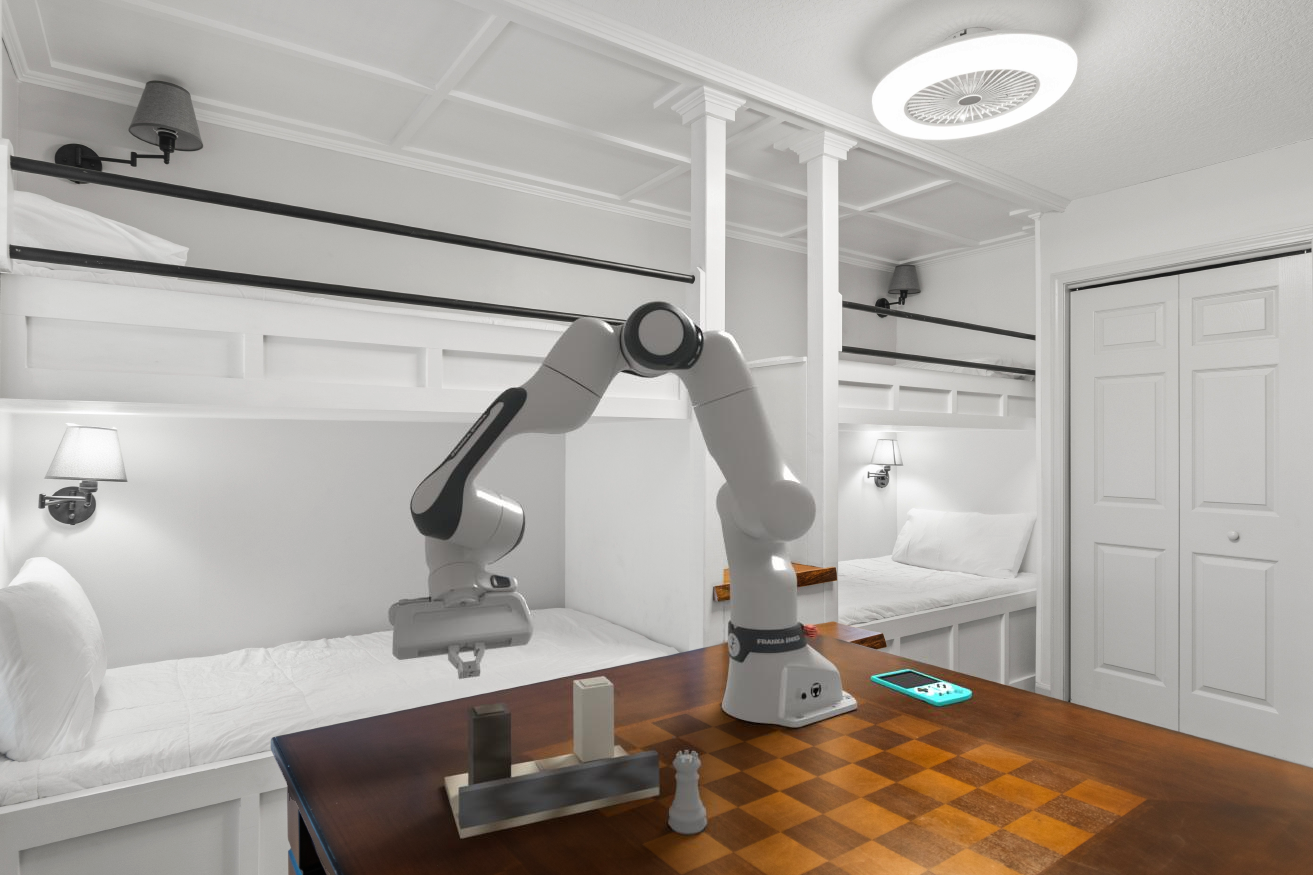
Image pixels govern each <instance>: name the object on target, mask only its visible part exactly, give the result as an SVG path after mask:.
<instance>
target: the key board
mask: <svg viewBox="0 0 1313 875" xmlns="http://www.w3.org/2000/svg"><path fill="white" fill-rule="evenodd" d="M444 788H445V791H446V794H447V798H448V800H449V801H448V802H449V805H450V807H451V810H452V814H453V817H454V821H455V824H456V827H457V831H458V835H459V838H460V839H465V838H470V837H475V836H479V835H482V834H483V835H484V834H487V833H493V832H497V831H501V830H507V829H511V828H514V827H515V828H516V827H520V826H524V825H529V824H533V823H537V822H542V821H547V820H551V819H555V818H560V817H564V816H565V817H566V816H570V815H574V814H578V813H583V812H587V811H588V812H589V811H591V810H597V809H601V808H605V807H610V806H615V805H619V804H624V803H629V802H634V801H638V800H642V799H647V798H652V797H657V796H660V754H659V752H657V750H655V749H652V750H647V751H641V752H637V753H631V754H629V753H628V752H627V751H626V750H625V749H624V748H623V747H622V746H621V744H617V745H614V757H609V758H604V759H599V760H594V761H588V762H583V763H582V761H581V760H580V759H579V757H578V756H577V755H576V753H575V752H574V753H570V754H569V753H568V754H564V755H558V756H554V757H552V756H551V757H548V758H543V759H542V758H541V759H538V760H537V759H536V760H531V761H526V762H520V763H515V764H511V777H510V778H505V779H500V780H495V781H489V782H484V783H479V784H474V785H468V772H466V773H460V774H456V775H455V774H454V775H450V776H444Z"/></svg>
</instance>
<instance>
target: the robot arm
mask: <svg viewBox="0 0 1313 875" xmlns="http://www.w3.org/2000/svg"><path fill="white" fill-rule="evenodd" d="M620 373H624V374H628V375H632V376H636V377H639V378H643V379H644V378H646V379H647V378H648V379H651V378H652V379H653V378H658V377H661V376H663V375H666V374H668V373H672V374H674V375H675V376H677V377H678V378H679V379H680V380H681V382H682V383H683V385H684V386H685V389H687V393H688V394H689V395H688V397H689V400H690V401H691V405H692V407H693V408H692V409H693V411H694V414H695V417H696V420H697V423H698V425H699V428H700V431H701V434H702V438H703V440H704V443H705V446H706V449H707V451H708V453H709V455H710V456H711V457H712V458H713V459H714V461H715V463H716V465H717V467H718V468H719V470H720V472H721V474H722V476H723V477H724V479H725V482H724V483H723V484H722V485H721V486H720V488H719V490H718V492H717V495H716V499H715V504H716V505H715V506H716V510H717V513H718V515H719V518H720V523H721V529H722V530H721V531H722V538H723V544H724V550H725V554H726V559H727V566H728V574H729V597H730V598H729V600H730V601H729V602H730V603H729V604H730V608H729V609H730V611H729V613H730V620H729V621H727V622H728V623H727V648H728V650H727V651H728V656H729V664H728V673H727V682H726V686H725V691H724V696H723V700H722V704H721V708H722V710H723V711H724V712H725V713H726V714H728V715H729V716H732V717H733V718H737V719H739V720H743V721H746V722H751V723H760V724H773V725H780V726H783V727H789V728H801V727H803V726H807V725H810V724H813V723H815V722H819V721H823V720H825V719H828V718H831V717H834V716H837V715H842V714H843V713H844V714H845V713H847V712H850V711H853V710H856V709H858V702H857V700H856V699H855V697H854V696H852V694H850V693H848V692H847V691H845V690H843V685H842V680H841V679H842V678H841V676H840V672H839V670H838V669H837V667H836V665H834V663H832V662H831V661H830V660H829V659H828V658H827V657H825V656H823V655H822V654H821V653H820V652H818V651H817V650H815V649H814V648H813V647H812V646H810V645H809V644H808V641H807V639H806V637H809V638H811V639H813V640H815V639H817V638H818V636H819V635H820V628H818V627H817V626H815V625H812V624H810V623H809V624H803V623H802V622H800V621H798V588H797V587H798V578H797V574H796V571H795V569H794V567H793V564H792V561H791V559H790V555H789V551H788V548H787V542H791V541H794V540H798V539H799V538H802V537H803V536H804V535H806V534H807V533H808V531H810V529H811V528H812V526H813V524H814V522H815V520H816V516H817V515H816V514H817V511H816V510H817V506H816V501H815V498H814V496H813V493H812V492H811V490H810V489H809V488H808V487H807V486H806V485H805V484H804V483H803V482H802V480H800V478H799V476H798V475H797V473H796V472H795V470H794V468H793V466H792V465H791V463H790V460H789V459H788V457H787V455H786V454H785V452H784V450H783V448H782V447H781V445H780V443H779V441H778V439H777V437H776V435H775V434H774V430H773V429H772V427H771V425H770V422H769V418H768V416H767V413H766V409H765V408H764V405H763V402H762V399H761V396H760V392H759V390H758V387H757V384H756V381H755V378H754V375H753V374H752V372H751V368H750V366H749V364H748V362H747V360H746V358H745V356H744V354H743V352H742V350H741V348H740V346H739V344H738V343H737V341H736V340H735V338H734V336H732V335H731V334H730V333H729V332H726V331H722V330H716V329H715V330H708V331H704V330H703V329H702V328H701V327H700V326H699V325H698V324H696V323H695V321H693V320H692V319H691V318H690V317H689V316H687V314H685V312H684V311H682V310H681V309H680V308H679V307H678V306H676V305H674V304H672V303H670V302H668V301H667V302H666V301H663V300H662V301H659V300H657V301H651V302H650V301H649V302H647V303H644V304H642V305H640V306H638V307H637V308H636V309H635V310H633V311H632V312H631V314H630V315H629V316H628V318H626V321H625V322H623V323H622V324H620V325H612V324H609V323H608V322H607V321H604V320H602V319H601V318H597V317H592V316H586V317H585V316H584V317H580V318H577V319H575V320H574V321H573V322H572V323H571V324H570V325H569V327H568V328H566V329H565V331H564V332H563V333H562V334H561V336H560V337H559V338H558V340H557V341H556V342H555V344H554V345H553V346H552V348H551V349H550V351H549V352H548V353H547V355H546V356H545V359H544V360H543V362H542V363H541V365H540V366H539V368H538V370H537V371H536V372H535V373H534V374H533V375H532V376H531V377H530V378H529V379H528V380H527V381H526V382H524V383H523V384H521V385H520V386H518V387H516V386H515V387H509V388H507V389H505V390H504V391H502V393H500V394H499V395H498V396H497V398H495V399H494V400H493V402H492V403H491V404H490V405H489V406H488V407H487V408H486V409H485V410H484V412H483V413H482V414H481V415H480V417H479V418H477V420H476V421H475V423H473V424H472V426H471V427H470V428H469V430H468V431H467V432H466V434H464V436H463V437H462V438H461V439H460V441H459V442H458V443H457V444H456V445H455V447H454V448H453V449H452V450H451V451H450V452H449V454H448V455H447V456H446V458H444V460H443V461H442V462H441V463H440V464H439V465H438V466H437V467H435V469H434V470H433V471H432V472H430V473H429V474H428V475H427V476H426V477H425V478H424V479H423V480H422V481H421V482H420V483H419V485H418V486H417V488H416V489H415V491H414V492H413V493H412V494H413V495H412V497H411V499H410V503H409V509H410V514H411V518H412V521H413V524H414V525H415V527H416V529H417V530H418V532H419V533H420V534H421V535H422V536H424V553H425V554H424V555H425V564H426V565H427V568H428V570H429V574H428V578H427V585H428V595H429V596H424V597H423V596H421V597H417V598H416V597H415V598H403V599H402V598H401V599H399V600H398V602H395V603H393V604H392V605H391V606H389V608H388V611H387V612H388V614H387V615H388V622H389V624H390V625H391V626H393V632H392V651H391V652H392V655H393V657H395V658H396V660H398V661H401V660H410V659H411V660H412V659H418V658H419V659H420V658H429V657H434V656H435V657H436V656H444V655H447V660H448V661H449V663H451V665H452V666H453V667H454V668H455V669H456V670H457V677H458V679H459V680H461V679H469V678H475V677H480V676H481V665H480V664H481V662H482V659H483V658H484V654H485V651H487V650H495V649H502V648H503V649H504V648H512V647H513V648H514V647H519V646H520V647H521V646H526V645H528V644H529V642H530V641H531V640H532V637H533V634H534V622H533V618H532V615H531V611H530V609H529V606H528V603H527V601H526V598H524V596H523V595H522V594H520V593H519V592H518V590H519V588H518V587H519V586H518V585H519V584H518V579H516V578H515V577H512V576H508V575H502V574H497V573H493V572H489V571H486V570H485V567H486V566H487V565H492V564H494V563H496V562H497V561H499V560H501V559H502V558H504V557H505V556H507V555H508V554H510V553H511V552H512V551H513V550H515V549H516V548H517V547H518V546H519V545H520V544H521V543H522V540H523V538H524V535H525V529H526V516H525V511H524V509H523V507H522V505H521V504H520V503H519V502H518V501H515V500H514V499H512V498H510V497H507V496H505V495H503V494H501V493H498V492H497V491H493V490H490V489H489V488H486V487H484V486H482V485H479V484H477V483H475V482H474V481H475V479H476V478H477V477H478V475H479V474H480V473H481V471H482V470H483V469H484V468H485V467H486V465H487V464H488V463H489V462H490V460H492V458H493V457H494V455H495V454H496V453H497V452H498V450H500V448H501V447H502V446H503V444H505V443H506V442H507V441H508V440H509V439H511V438H514V437H515V436H518V435H521V434H530V433H531V434H533V433H535V434H536V433H537V434H544V435H545V434H547V435H560V434H566V433H570V432H574V431H576V430H578V429H580V428H582V427H583V426H584V425H585V423H587V422H588V421H589V419H590V418H591V417H592V415H593V414H594V412H595V411H596V409H597V407H598V405H599V404H600V401H601V399H603V396H604V394H605V393H606V392H607V390H608V388H609V385H610V384H611V383H612V381H613V380H614V379H615V377H617V375H619V374H620ZM468 652H469V653H470V652H473V656H474V657H475V658H474V660H470V661H463V659H461V657H460V656H459V655H460V653H461V654H462V653H468Z"/></svg>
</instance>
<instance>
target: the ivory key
mask: <svg viewBox="0 0 1313 875" xmlns="http://www.w3.org/2000/svg"><path fill="white" fill-rule="evenodd" d="M572 682H573V685H572V687H573V689H572V690H573V691H572V692H573V693H572V694H573V698H572V699H573V700H572V701H573V708H572V709H573V711H572V712H573V752H574V753H576V755H577V756H578V757H579V759H580V760H581V761H582V763H583V762H588V761H594V760H599V759H604V758H609V757H614V746H615V704H614V703H615V701H614V700H615V693H614V692H615V691H614V690H615V687H614V686H615V685H614V684H613V682H611V680H609V679H608V678H607V677H606V676H604V675H602V676H596V677H590V678H589V677H588V678H583V679H575V680H573V681H572Z"/></svg>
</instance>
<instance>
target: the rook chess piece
mask: <svg viewBox="0 0 1313 875" xmlns="http://www.w3.org/2000/svg"><path fill="white" fill-rule="evenodd" d="M683 751H684V752H683ZM683 751H682V750H679V751H677V753H675V759H674V760H673V761H672V766H673V767H674V768H675V770H676V773H675V775H674V778H675V780H676V788H675V789H676V790H675V795H674V800H673V801H672V805H671V806H670V807H669V810H668V817H669V818H668V819H667V821H668V822H667V823H668V825H669V826H670V828H671V829H672V830H673V832H676V833H678V834H682V835H684V836H685V835H695V834H699V833H700V832H702V831H703V830H704V829H705V827H706V825H707V824H708V819H707V818H706V817H707V811H706V807H705V806H704V805H703V801H702V800H701V798H700V791H699V786H698V785H699V784H698V782H699V779H700V775H699V773H698V770H699V768H700V767H701V766H702V762H701V760H700V758H699V754H698V753H697V752H696V750H692V751H691V753H689V752H690V751H689V749H684V750H683Z"/></svg>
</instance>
